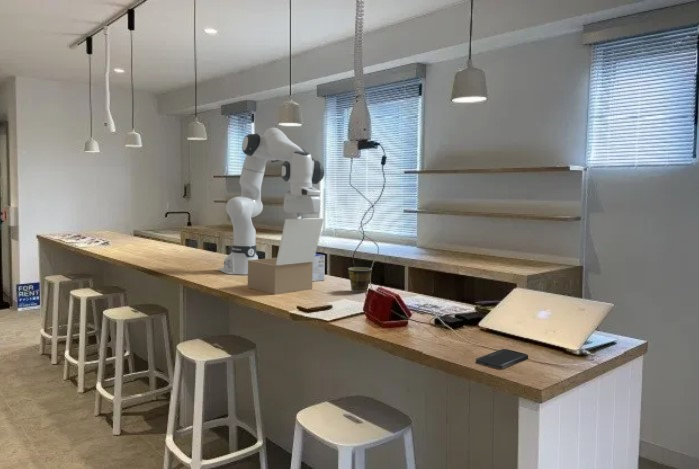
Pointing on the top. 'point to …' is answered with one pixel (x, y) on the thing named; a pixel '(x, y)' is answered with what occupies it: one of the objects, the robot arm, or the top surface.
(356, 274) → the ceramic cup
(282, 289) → the carton
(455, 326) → the top surface
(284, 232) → the lid flap
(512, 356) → the phone
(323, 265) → the ink cartridge box
